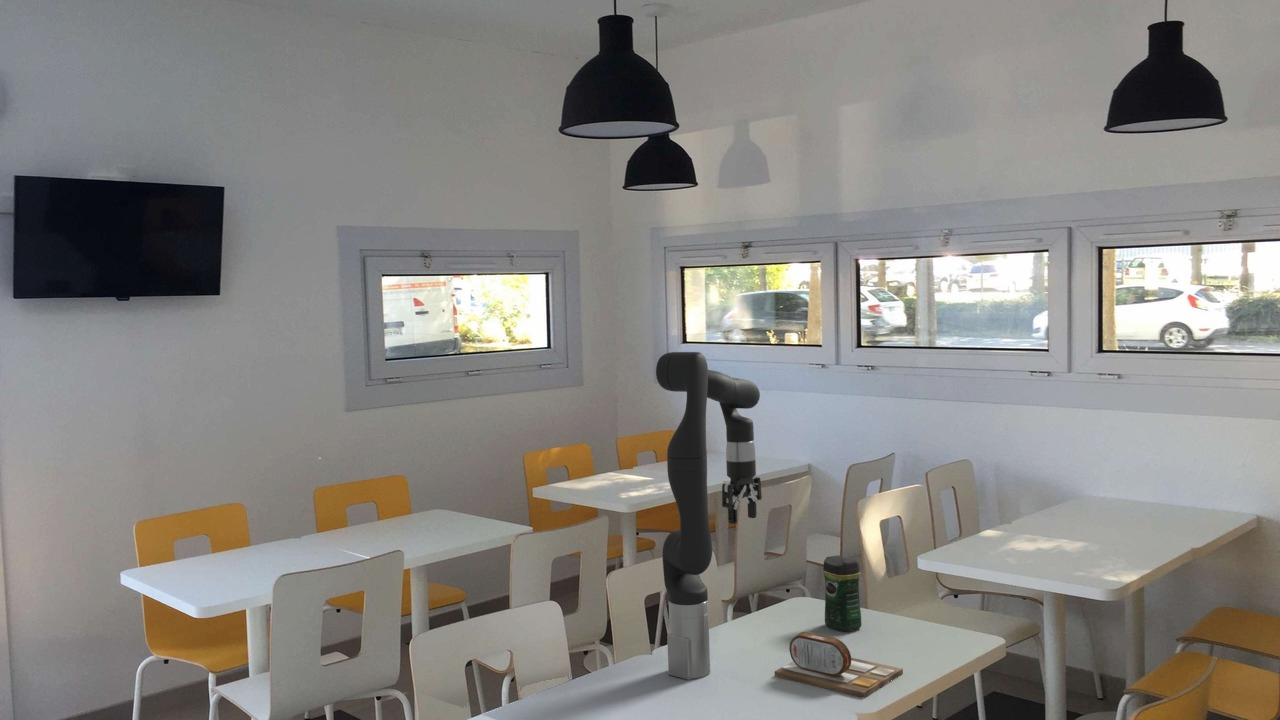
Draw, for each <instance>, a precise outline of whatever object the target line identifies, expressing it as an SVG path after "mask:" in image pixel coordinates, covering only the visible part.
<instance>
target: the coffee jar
mask: <svg viewBox="0 0 1280 720" xmlns="http://www.w3.org/2000/svg"><path fill="white" fill-rule="evenodd" d="M822 567H823V568H822V571H823V577H824V584H825V589H824V591H825V592H824V593H825V594H824V595H825V596H824V597H825V599H824V603H825V604H824V624H825V626H827V627H828V628H831V629H833V630H837V631H840V632H843V631H845V632H846V631H847V632H848V631H849V632H854V631H856V630H858V629H860V628H861V627H862V611H861V601H860V587H859V586H860V585H859V584H860V577H861V571H860V570H861V568H860V563H859V562H858V561H857V560H855V559H851V558H847V557H844V556H840V555H838V554H837V555H831V556H827V557H826V558H825V559H824V561H823V566H822Z"/></svg>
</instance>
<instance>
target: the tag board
mask: <svg viewBox="0 0 1280 720" xmlns="http://www.w3.org/2000/svg"><path fill="white" fill-rule="evenodd" d="M903 669H904V668H901V667H897V666H892V665H887V664H882V663H878V662H874V661H868V660H863V659H860V658H854V657H851V665H850V668H849V669H848V670H847V671H846V672H844V673H842V674H841V675H839V676H829V675H825V674H821V673H817V672H813V671H808V670H804V669H802V668H800V667H798V666H797V665H796V664H795V663H794V661H793V660H792V661H791V662H790V663H788V664H786V665H784V666H782V667H779V668H778V669H776V670H774V677H776V678H780V679H783V680H789V681H792V682H797V683H801V684H805V685H809V686H814V687H817V688H820V689H821V688H822V689H826V690H828V691H829V690H830V691H833V692H837V693H842V694H846V695H851V696H853V697H854V696H855V697H857V698H863V699H865V698H867V697H869V696H871V695H872V694H873V693H875V692H876V691H878V690H880V689H881V688H883V687H885V686H886V685H888V684H889V683H891V682H892V681H894V680H895V678H896V677H897V678H899V677H900V676H902V675H903V674H904V670H903ZM901 674H902V675H901ZM899 675H900V676H899ZM898 676H899V677H898ZM897 678H896V679H897ZM893 679H894V680H893ZM891 680H892V681H891ZM890 681H891V682H890ZM888 682H889V683H888ZM887 683H888V684H887ZM885 684H886V685H885ZM882 686H883V687H882ZM880 687H881V688H880ZM879 688H880V689H879Z"/></svg>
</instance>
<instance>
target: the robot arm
mask: <svg viewBox="0 0 1280 720" xmlns="http://www.w3.org/2000/svg"><path fill="white" fill-rule="evenodd" d="M655 376H656V381H657V383H658V384H659V386H660V387H661V388H662V389H664V390H666V391H668V392H677V393H678V392H679V393H680V392H682V393H683V392H685V393H686V403H685V404H686V405H685V411H684V414H683V416H682V419H681V421H680V423H679V424H678V426H677V428H676V430H675V431H674V433H673V435H672V436H671V439H670V441H669V443H668V447H667V452H666V453H667V454H666V457H667V458H666V460H667V461H666V462H667V468H666V469H667V477H668V482H669V483H668V484H669V487H670V489H671V492H672V494H673V499H674V500H675V502H676V506H677V509H678V513H679V520H680V521H679V522H680V523H679V524H680V525H679V528H680V529H677V530H674V531H672V532H670V533H669V534H668V535H667V536H666V537H665V540H664V542H663V547H662V569H663V581H664V587H665V590H666V592H667V597H668V619H669V620H668V624H669V626H668V628H669V634H667V636H666V637H667V666H668V667H667V668H668V675H669V676H673V677H677V678H680V679H683V680H688V681H690V680H692V679H700V678H703V677H706V676H708V675H709V674H710V673H711V658H710V656H711V652H710V651H711V650H710V649H711V648H710V627H709V626H710V625H709V624H710V623H709V621H710V620H709V598H708V597H709V596H708V595H709V593H708V588H707V586H706V584H705V583H704V582H703V580H702V579H701V577H700V575H701V574H703V573H704V572H705V571H706V570H708V568H709V566H710V564H711V561H712V558H713V543H712V536H711V535H712V534H711V528H710V520H709V508H708V507H709V503H708V498H709V497H708V456H707V455H708V451H707V427H706V426H707V404H708V399H711V400H713V401H716V402H718V403H719V405H720V409H721V412H722V416H723V419H724V423H725V429H726V432H725V433H726V434H725V435H726V445H725V447H726V448H725V456H726V457H725V463H726V465H725V466H726V476H727V477H728V478H729V479H730V482H729V483H723V484H722V486H721V487H722V488H721V507H722V508H726V509H727V512H728V513H727V516H728V523H729V524H731V525H732V524H733V525H735V524H736V525H737V523H738V506H739V503H740V502H741V501H742V499H744V498H745V500H746V502H747V517H748V518H750V519H755V518H757V504H758V502H759V501H761V500H762V483H761V477H757V476H756V475H757V467H756V466H757V463H756V462H757V461H756V445H755V435H754V434H755V432H754V422H753V419H751V418H749V417H745V416H742V415H740V413H739V412H738V409H742V410H743V409H746V410H748V409H752V408H754V407H756V406H757V404H758V403H759V401H760V397H761V393H760V389H759V386H757V384H756V383H754V382H753V381H751V380H750V379H749V380H748V379H744V378H743V379H742V378H736V377H731V376H729V375H728V374H725V373H722V372H721V371H716V370H712V369H711V370H710V369H708V362H707V358H706V356H705V355H704V354H703V353H702V352H700V351H672V352H667V353H664V354H663V355H661V356H660V357H659V359H658V361H657V362H656V366H655ZM756 492H757V493H756ZM727 499H728V500H727Z"/></svg>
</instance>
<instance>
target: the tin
mask: <svg viewBox="0 0 1280 720" xmlns="http://www.w3.org/2000/svg"><path fill="white" fill-rule="evenodd" d="M788 650H789V654H790V658H791V659H792V662H793V661H794V663H795V664H796V665H797V666H798V667H800V668H802V669H804V670H808V671H813V672H817V673H821V674H825V675H829V676H839V675H841V674H842V673H844V672H846V671H847V670H848V669H849V668H850V665H851V658H852V656H851V652H850V650H849V648H848V647H847V645H846V643H844V642H843V641H842V640H841V639H839V638H836V637H833V636H828V635H822V634H818V633H815V632H810V631H801V632H799V633H798V634H796V635H795V636H794V637H792V638H791V640H790V641H789V649H788Z"/></svg>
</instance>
